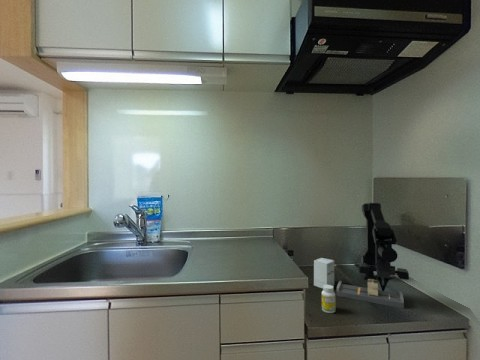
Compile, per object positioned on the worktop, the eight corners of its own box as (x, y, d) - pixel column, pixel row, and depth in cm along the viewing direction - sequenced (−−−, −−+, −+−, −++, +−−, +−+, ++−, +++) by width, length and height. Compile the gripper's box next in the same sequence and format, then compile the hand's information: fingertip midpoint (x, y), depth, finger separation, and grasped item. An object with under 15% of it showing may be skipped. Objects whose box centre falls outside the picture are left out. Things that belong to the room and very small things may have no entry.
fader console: (339, 287, 129) (339, 280, 129) (401, 298, 116) (401, 290, 116) (336, 295, 120) (336, 288, 120) (403, 308, 108) (403, 299, 108)
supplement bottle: (335, 314, 103) (334, 290, 103) (320, 312, 106) (320, 288, 105) (335, 308, 108) (335, 284, 108) (322, 305, 111) (322, 283, 110)
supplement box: (327, 290, 126) (326, 263, 126) (313, 285, 131) (313, 260, 131) (335, 285, 131) (334, 260, 131) (321, 281, 136) (321, 257, 136)
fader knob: (368, 289, 121) (368, 278, 121) (377, 291, 119) (377, 279, 119) (367, 294, 116) (367, 282, 116) (377, 295, 114) (377, 284, 114)
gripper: (358, 257, 112) (358, 293, 113) (410, 263, 104) (410, 303, 104) (359, 250, 122) (360, 284, 123) (407, 255, 114) (407, 291, 114)
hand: (383, 290), depth 116 cm, fingers closed
